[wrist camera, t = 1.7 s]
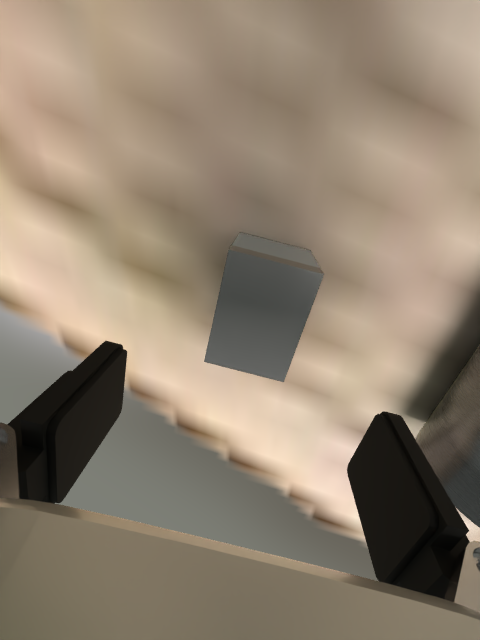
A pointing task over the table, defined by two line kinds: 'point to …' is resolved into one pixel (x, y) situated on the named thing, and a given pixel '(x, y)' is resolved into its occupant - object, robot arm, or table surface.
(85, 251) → the table surface
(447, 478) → the motor
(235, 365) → the grey chamfered block
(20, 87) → the table surface
